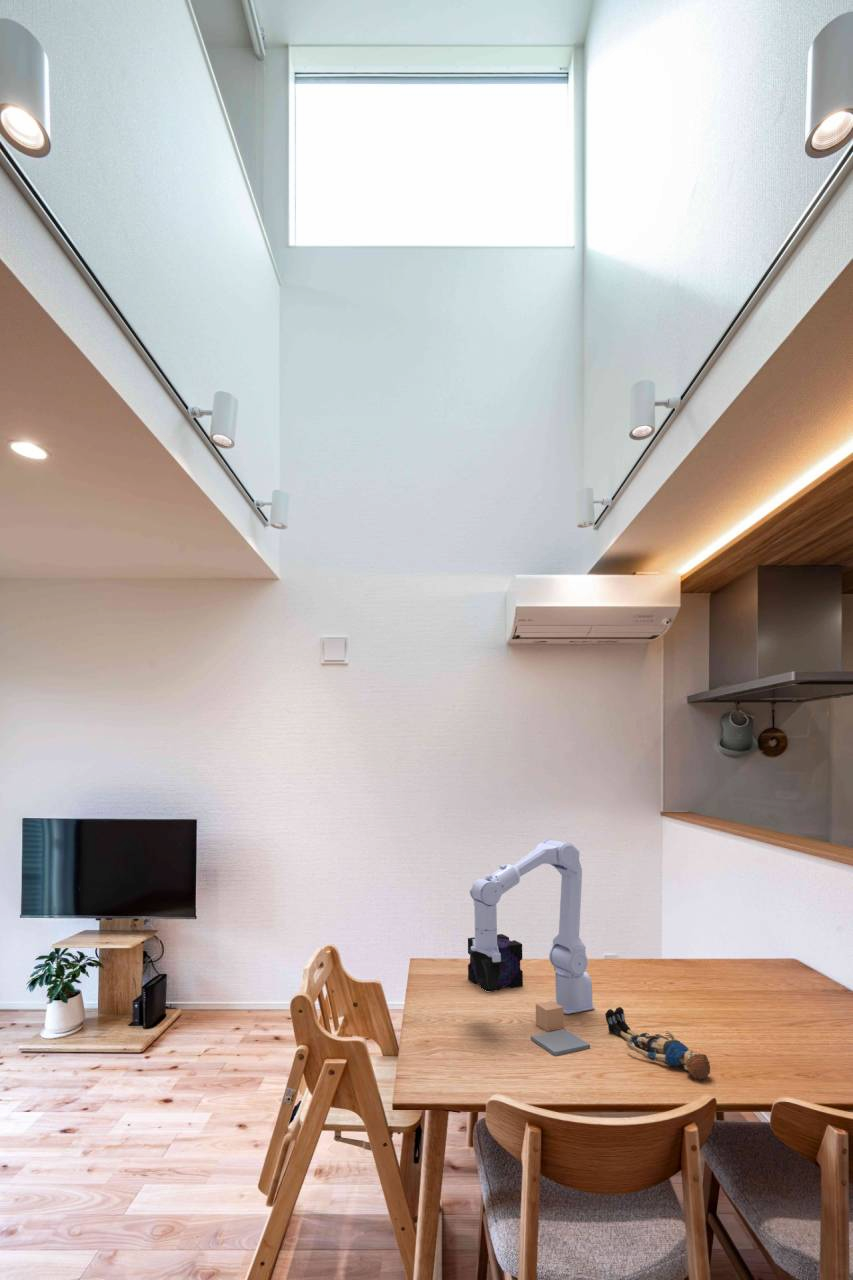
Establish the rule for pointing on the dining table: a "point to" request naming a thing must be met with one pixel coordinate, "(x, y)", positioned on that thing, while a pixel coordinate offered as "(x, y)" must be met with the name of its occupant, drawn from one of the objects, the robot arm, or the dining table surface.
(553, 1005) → the terracotta cube
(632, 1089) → the dining table surface
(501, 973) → the energy cube
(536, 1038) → the plate
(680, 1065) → the figurine
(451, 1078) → the dining table surface
